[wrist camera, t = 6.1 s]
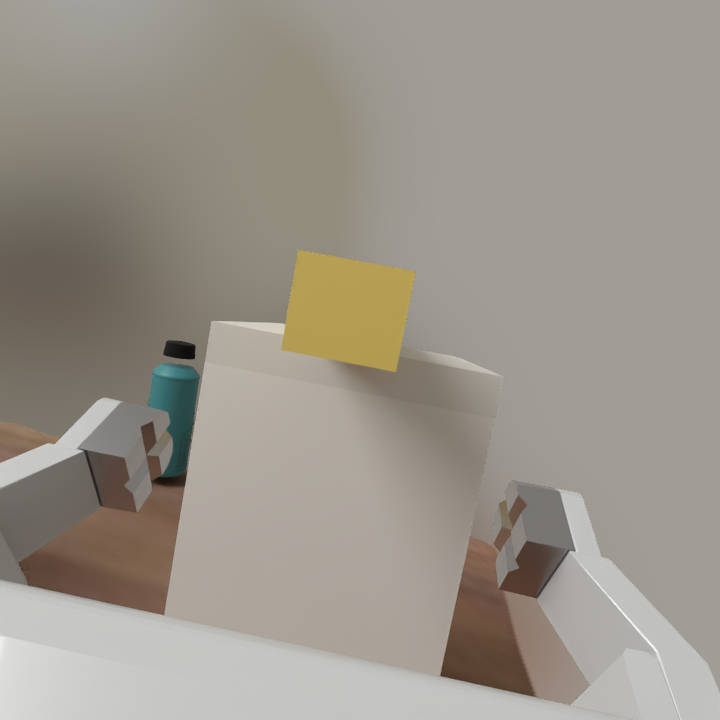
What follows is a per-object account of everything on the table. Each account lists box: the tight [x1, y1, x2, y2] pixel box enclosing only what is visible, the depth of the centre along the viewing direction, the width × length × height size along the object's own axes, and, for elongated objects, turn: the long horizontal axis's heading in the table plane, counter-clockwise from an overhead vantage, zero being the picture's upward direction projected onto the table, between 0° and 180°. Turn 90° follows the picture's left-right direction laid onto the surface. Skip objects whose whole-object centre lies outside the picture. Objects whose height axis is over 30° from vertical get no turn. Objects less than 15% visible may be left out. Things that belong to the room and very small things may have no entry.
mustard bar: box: [281, 250, 415, 372], centre depth 25 cm, size 22×4×3 cm, turn 177°
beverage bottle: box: [148, 341, 200, 477], centre depth 65 cm, size 6×7×20 cm
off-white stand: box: [164, 321, 504, 676], centre depth 30 cm, size 14×14×26 cm
